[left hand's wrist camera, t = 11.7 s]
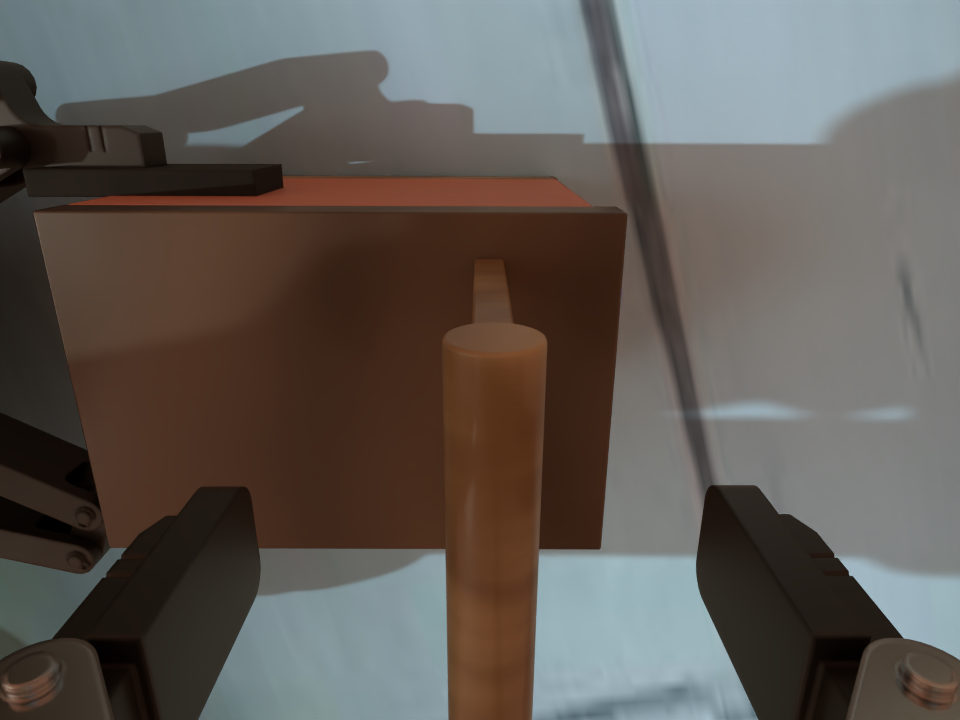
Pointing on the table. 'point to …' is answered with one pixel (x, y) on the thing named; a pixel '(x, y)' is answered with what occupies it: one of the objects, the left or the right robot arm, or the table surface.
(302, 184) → the chest
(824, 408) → the table surface
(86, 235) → the lid
